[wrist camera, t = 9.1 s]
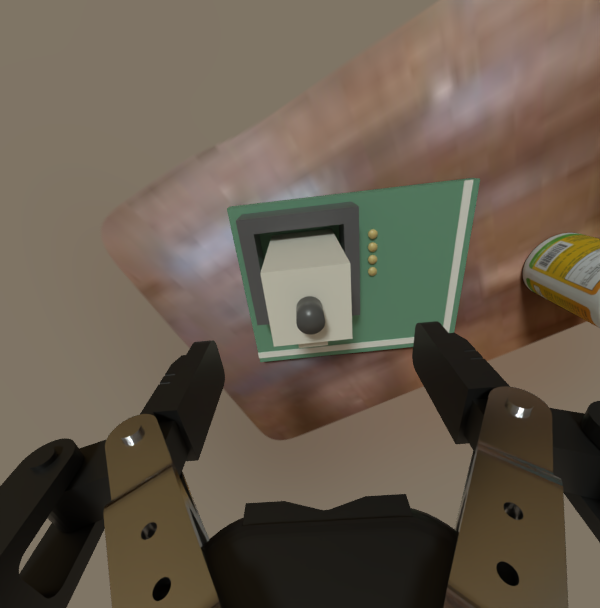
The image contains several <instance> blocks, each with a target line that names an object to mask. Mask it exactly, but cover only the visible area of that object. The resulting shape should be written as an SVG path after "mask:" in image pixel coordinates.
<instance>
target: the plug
mask: <svg viewBox="0 0 600 608" xmlns="http://www.w3.org/2000/svg"><path fill="white" fill-rule="evenodd" d="M260 274H261V280H262V285H263V290H264V296H265V301H266V307H267V312H268V317H269V323H270V328H271V333H272V339H273V344H274V347H276V346H285V345H295V344H299V348H305V347H315V346H325V345H328V341H335V340H344V339H353V337H352V302H351V267H350V262H349V260H348V258H347V256H346V254H345V253H344V251H343V249H342V247H341V245H340V244H339V242H338V240H337V238H336V236H335V235H334V233H333V231H332V229H324V230H315V231H307V232H298V233H289V234H281V235H272V236H271V240H270V243H269V246H268V250H267V253H266V256H265V259H264V263H263V266H262V269H261V273H260Z"/></svg>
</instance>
